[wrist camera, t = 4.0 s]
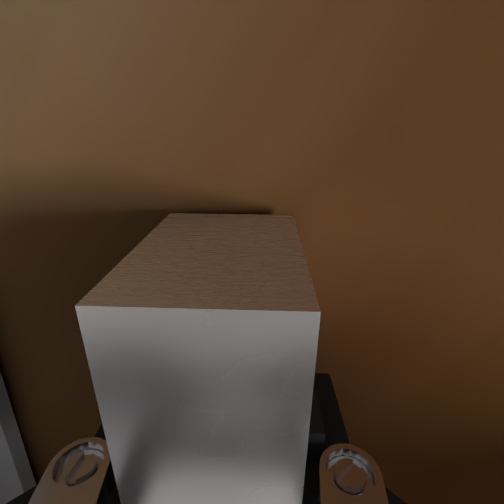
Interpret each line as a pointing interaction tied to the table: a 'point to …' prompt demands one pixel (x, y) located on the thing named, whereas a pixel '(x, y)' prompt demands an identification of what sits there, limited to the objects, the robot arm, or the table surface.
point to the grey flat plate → (12, 454)
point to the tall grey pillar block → (206, 361)
